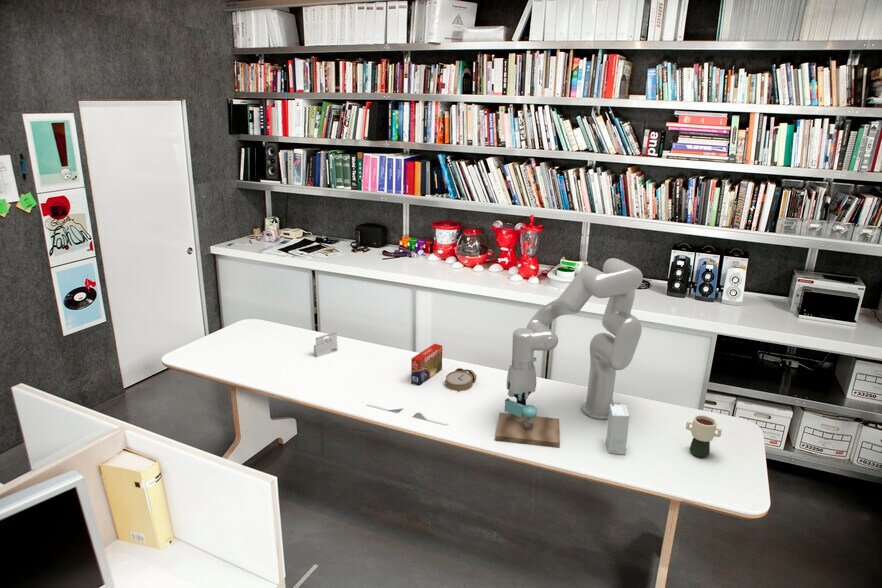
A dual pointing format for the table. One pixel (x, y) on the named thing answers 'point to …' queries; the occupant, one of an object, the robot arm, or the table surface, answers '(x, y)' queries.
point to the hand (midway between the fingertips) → (521, 407)
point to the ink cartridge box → (325, 345)
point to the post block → (528, 430)
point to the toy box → (426, 364)
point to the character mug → (702, 434)
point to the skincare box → (617, 429)
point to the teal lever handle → (520, 409)
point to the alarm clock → (460, 379)
